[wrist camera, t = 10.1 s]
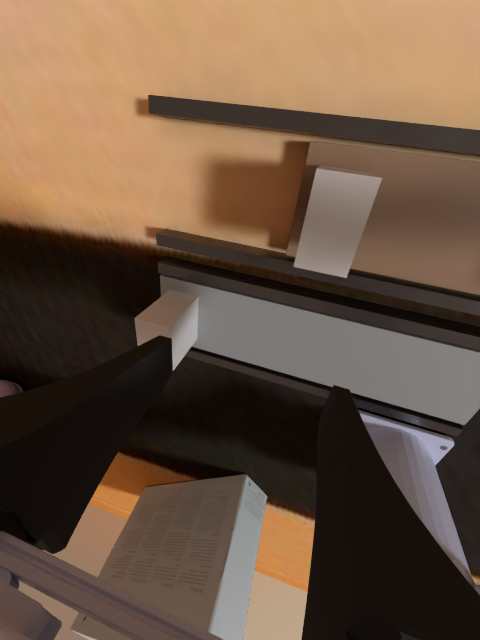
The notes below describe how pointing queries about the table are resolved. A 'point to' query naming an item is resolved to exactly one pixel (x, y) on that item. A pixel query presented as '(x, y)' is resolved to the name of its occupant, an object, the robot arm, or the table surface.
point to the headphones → (9, 388)
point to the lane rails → (313, 299)
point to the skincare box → (189, 554)
